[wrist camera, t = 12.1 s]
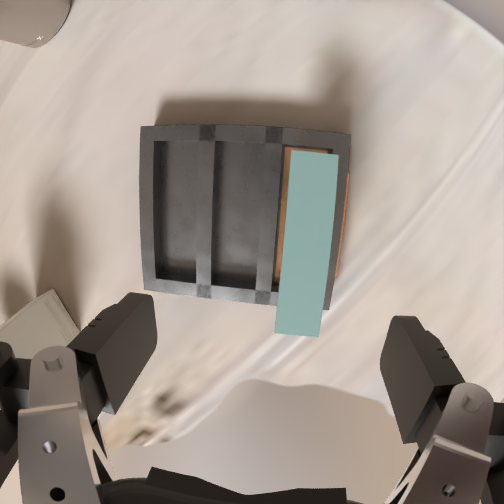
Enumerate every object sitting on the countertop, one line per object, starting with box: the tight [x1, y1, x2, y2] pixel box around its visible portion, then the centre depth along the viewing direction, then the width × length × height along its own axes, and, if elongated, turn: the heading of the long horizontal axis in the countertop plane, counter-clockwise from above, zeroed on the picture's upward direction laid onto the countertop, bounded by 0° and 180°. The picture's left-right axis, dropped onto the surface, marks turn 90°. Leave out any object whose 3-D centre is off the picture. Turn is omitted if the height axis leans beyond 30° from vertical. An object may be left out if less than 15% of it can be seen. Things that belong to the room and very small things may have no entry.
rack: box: [139, 125, 351, 310], centre depth 30 cm, size 17×20×3 cm
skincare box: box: [0, 289, 80, 359], centre depth 32 cm, size 8×6×15 cm
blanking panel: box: [274, 150, 339, 337], centre depth 24 cm, size 12×3×10 cm, turn 177°
